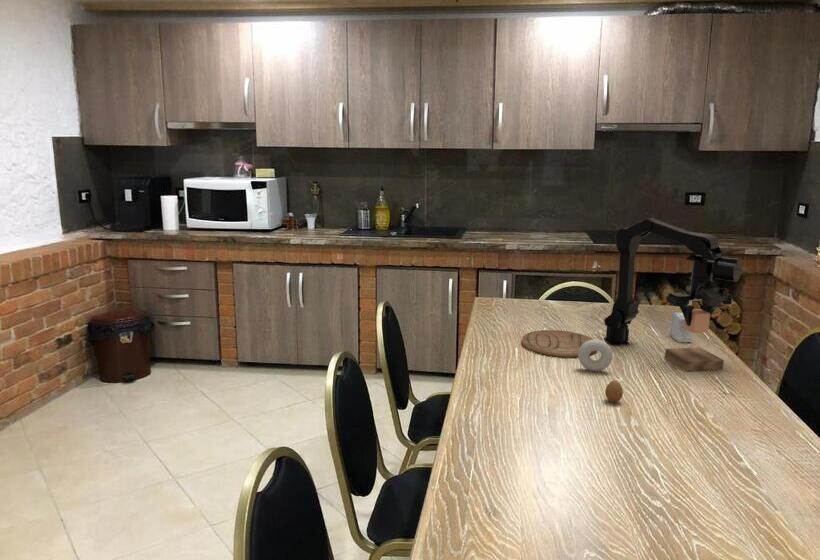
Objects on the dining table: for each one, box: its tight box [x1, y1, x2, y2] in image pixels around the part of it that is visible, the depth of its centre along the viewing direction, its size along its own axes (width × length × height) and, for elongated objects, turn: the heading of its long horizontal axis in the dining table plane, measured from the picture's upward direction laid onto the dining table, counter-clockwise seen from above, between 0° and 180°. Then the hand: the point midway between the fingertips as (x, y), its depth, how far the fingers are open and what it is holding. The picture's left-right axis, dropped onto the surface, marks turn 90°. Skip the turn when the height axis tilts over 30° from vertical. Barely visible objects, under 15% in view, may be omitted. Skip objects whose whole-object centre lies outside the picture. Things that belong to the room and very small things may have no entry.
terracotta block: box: [684, 308, 711, 334], centre depth 196 cm, size 5×5×6 cm
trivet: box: [521, 329, 598, 359], centre depth 214 cm, size 25×25×2 cm
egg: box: [604, 380, 624, 403], centre depth 169 cm, size 4×4×6 cm
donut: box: [577, 338, 614, 372], centre depth 190 cm, size 10×3×10 cm, turn 77°
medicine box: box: [669, 312, 693, 344], centre depth 222 cm, size 8×4×9 cm, turn 179°
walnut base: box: [664, 346, 725, 372], centre depth 198 cm, size 12×12×3 cm
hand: (696, 325), depth 197 cm, fingers closed on terracotta block, 5 cm apart
